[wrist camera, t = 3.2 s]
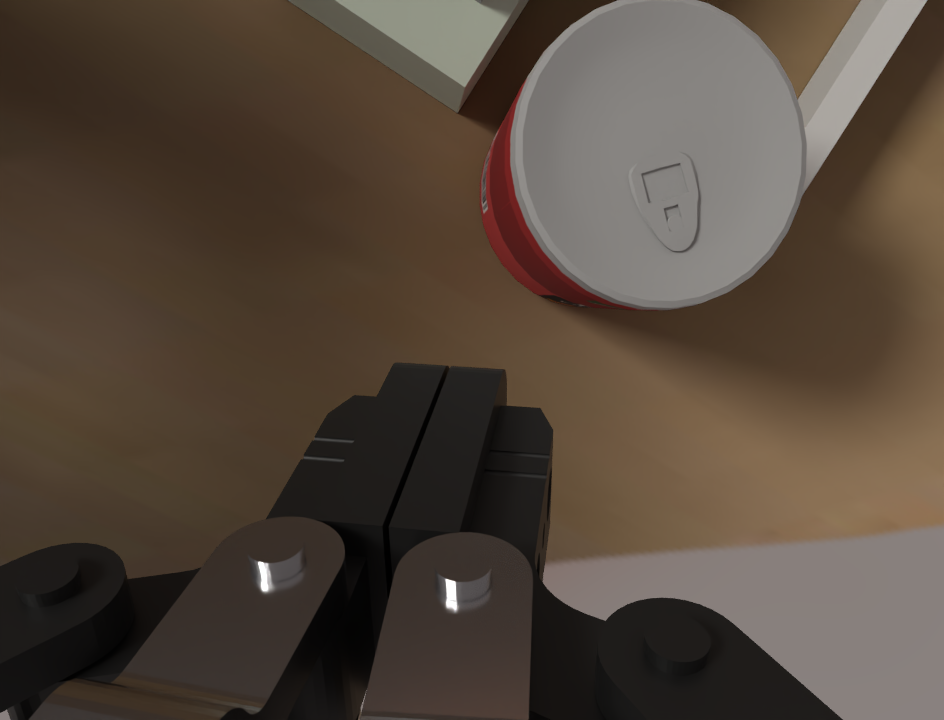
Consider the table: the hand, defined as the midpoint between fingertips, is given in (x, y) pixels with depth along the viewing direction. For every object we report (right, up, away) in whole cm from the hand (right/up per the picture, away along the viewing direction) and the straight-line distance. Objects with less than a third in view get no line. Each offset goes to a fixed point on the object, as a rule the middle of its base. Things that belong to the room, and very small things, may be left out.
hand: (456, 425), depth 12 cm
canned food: (+4, +7, +21) cm, 23 cm away
